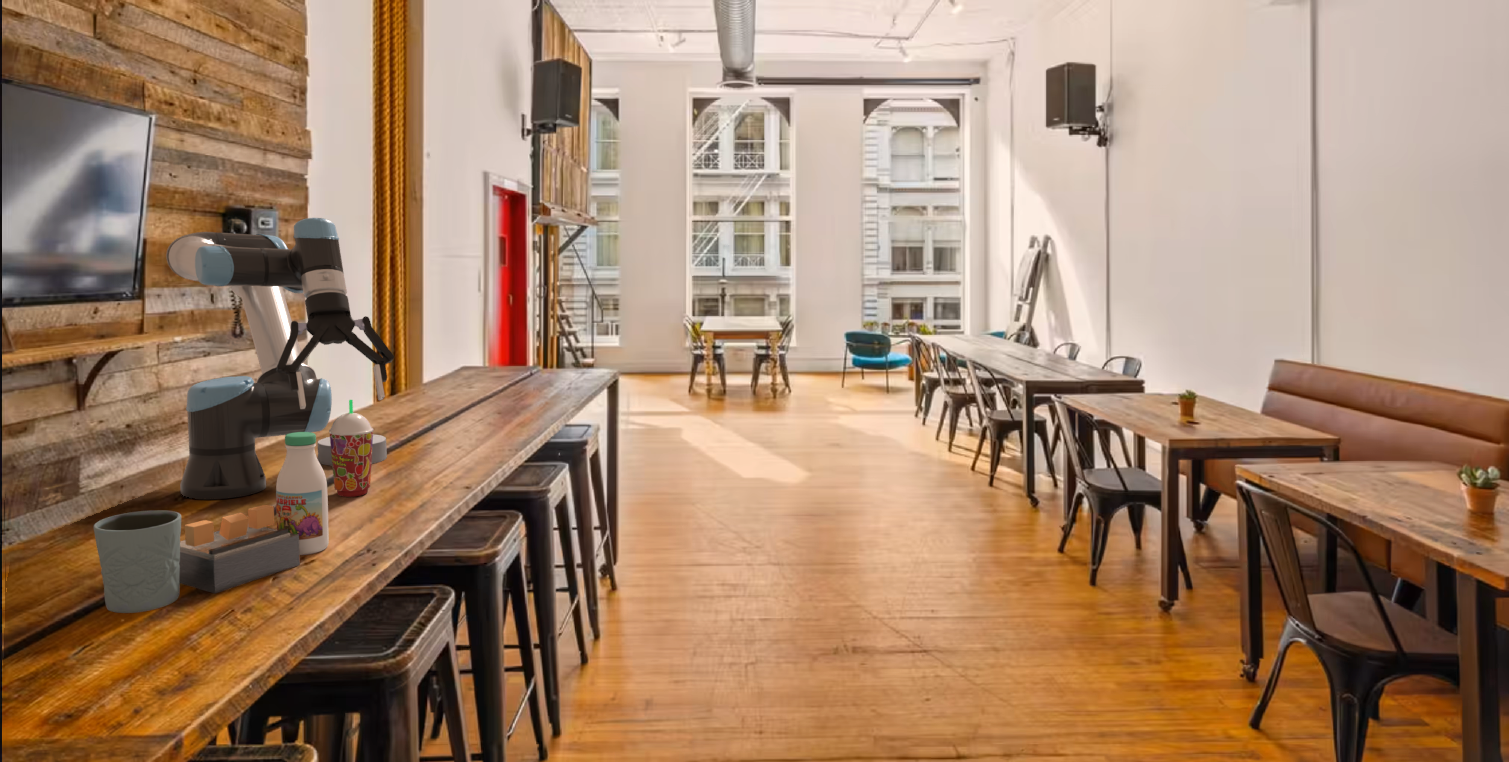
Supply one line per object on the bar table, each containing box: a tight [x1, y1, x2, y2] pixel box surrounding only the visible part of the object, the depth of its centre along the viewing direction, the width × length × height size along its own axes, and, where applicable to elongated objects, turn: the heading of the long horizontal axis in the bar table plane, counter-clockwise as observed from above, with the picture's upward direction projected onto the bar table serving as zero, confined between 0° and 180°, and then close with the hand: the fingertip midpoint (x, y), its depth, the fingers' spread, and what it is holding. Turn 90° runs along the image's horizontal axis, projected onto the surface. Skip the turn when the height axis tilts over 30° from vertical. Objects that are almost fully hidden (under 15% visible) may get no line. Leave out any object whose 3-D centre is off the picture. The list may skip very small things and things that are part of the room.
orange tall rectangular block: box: [184, 519, 215, 547], centre depth 128 cm, size 2×3×3 cm, turn 156°
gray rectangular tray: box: [179, 525, 301, 594], centre depth 133 cm, size 12×14×6 cm
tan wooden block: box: [247, 504, 275, 529], centre depth 137 cm, size 2×3×3 cm, turn 156°
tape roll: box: [316, 433, 388, 467], centre depth 209 cm, size 15×15×5 cm
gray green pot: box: [93, 509, 182, 614], centre depth 121 cm, size 10×10×12 cm
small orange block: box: [219, 512, 249, 540], centre depth 133 cm, size 2×3×3 cm, turn 158°
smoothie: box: [328, 399, 375, 498], centre depth 178 cm, size 8×8×20 cm
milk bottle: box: [275, 432, 330, 556], centre depth 144 cm, size 8×8×20 cm
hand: (343, 403), depth 162 cm, fingers open, 13 cm apart
